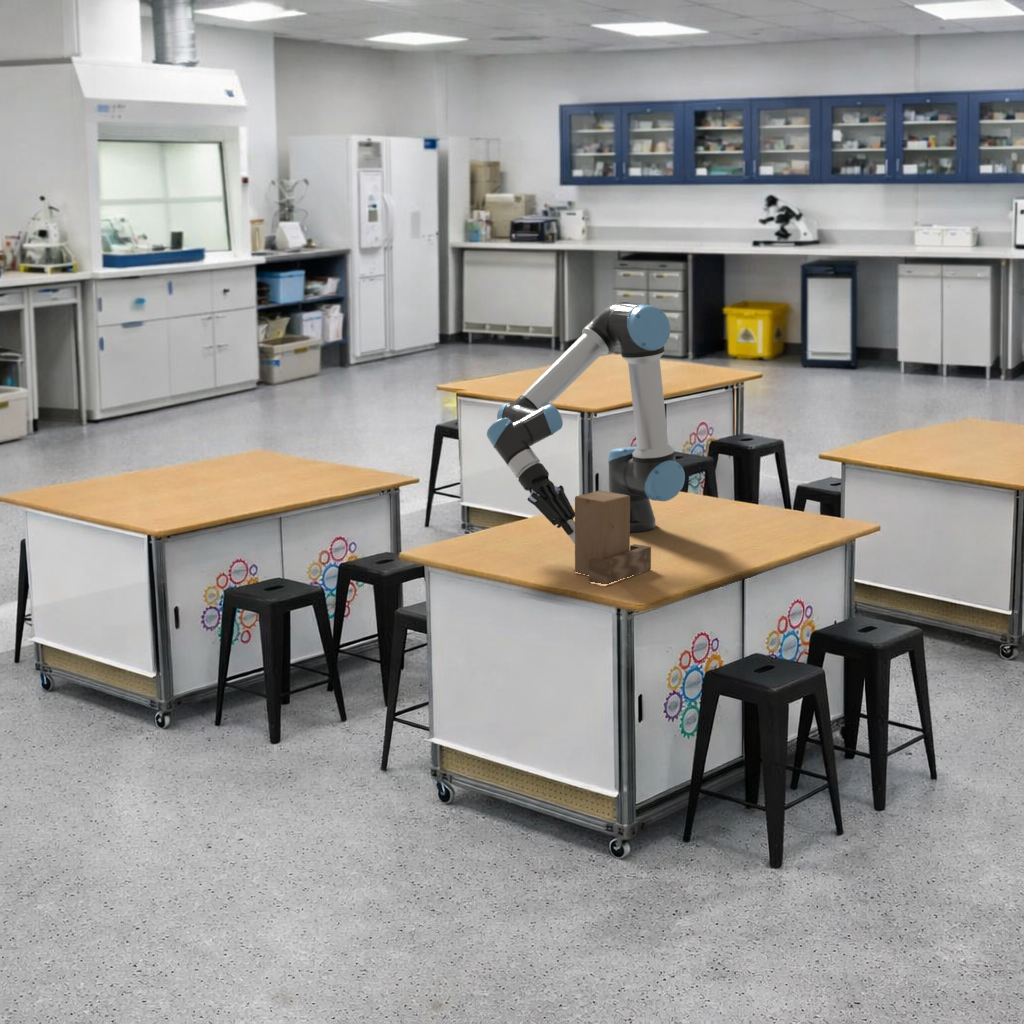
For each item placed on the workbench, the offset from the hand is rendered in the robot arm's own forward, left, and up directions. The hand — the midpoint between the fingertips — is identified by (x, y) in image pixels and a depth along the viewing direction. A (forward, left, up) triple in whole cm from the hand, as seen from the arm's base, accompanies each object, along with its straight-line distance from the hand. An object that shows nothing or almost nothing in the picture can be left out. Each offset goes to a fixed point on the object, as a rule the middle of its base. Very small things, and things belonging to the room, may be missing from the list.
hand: (581, 542), depth 365 cm
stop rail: (0, +12, -7) cm, 14 cm away
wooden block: (0, +6, -7) cm, 10 cm away
